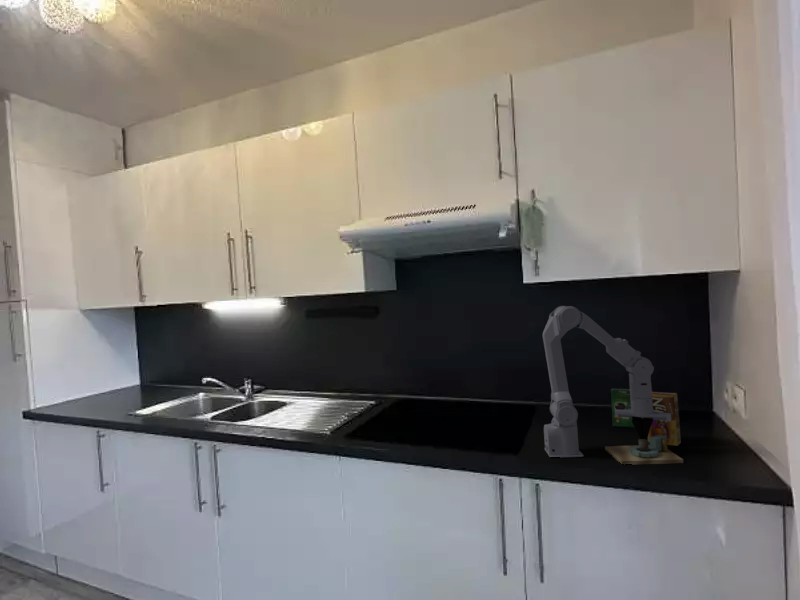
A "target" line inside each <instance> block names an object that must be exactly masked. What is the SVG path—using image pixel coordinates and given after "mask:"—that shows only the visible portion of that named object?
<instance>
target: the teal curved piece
mask: <svg viewBox="0 0 800 600" xmlns="http://www.w3.org/2000/svg"><path fill="white" fill-rule="evenodd" d="M662 439H667V437H666V436H664V435H656V436H652V437H649V442H648V444H649V445H650V447H649V452H641V451H639V446H634V447H631V448H630V451H631V454H632V455H636V456H641V457H655V456H658V451H662V450H663V448H662Z"/></svg>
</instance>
